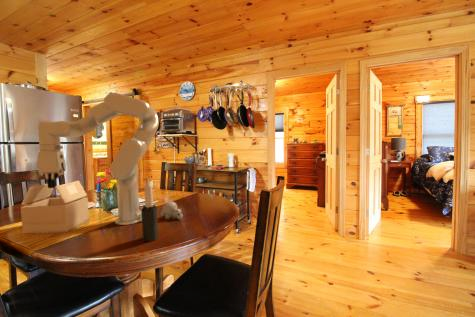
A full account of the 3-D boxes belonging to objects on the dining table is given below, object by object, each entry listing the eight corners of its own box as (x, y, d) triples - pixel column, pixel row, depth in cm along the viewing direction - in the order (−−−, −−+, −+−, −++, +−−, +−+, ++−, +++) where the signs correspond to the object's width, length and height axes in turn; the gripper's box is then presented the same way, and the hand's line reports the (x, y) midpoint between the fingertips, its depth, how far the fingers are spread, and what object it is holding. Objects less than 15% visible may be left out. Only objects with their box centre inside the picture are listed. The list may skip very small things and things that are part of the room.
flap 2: (54, 186, 101) (56, 186, 101) (77, 180, 116) (79, 180, 116) (64, 203, 101) (65, 203, 101) (86, 195, 117) (87, 195, 117)
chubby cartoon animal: (175, 226, 114) (179, 212, 112) (157, 215, 118) (161, 200, 116) (184, 222, 120) (188, 207, 118) (167, 211, 125) (171, 197, 123)
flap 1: (57, 182, 116) (56, 181, 116) (30, 188, 100) (29, 187, 100) (49, 196, 116) (48, 196, 116) (22, 205, 101) (20, 204, 100)
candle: (158, 235, 96) (156, 176, 95) (155, 241, 91) (152, 178, 90) (146, 236, 96) (143, 176, 94) (142, 241, 91) (138, 178, 89)
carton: (89, 219, 119) (88, 196, 118) (66, 232, 101) (64, 206, 101) (51, 221, 118) (49, 197, 117) (21, 234, 101) (19, 207, 100)
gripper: (72, 148, 111) (74, 185, 112) (40, 148, 110) (42, 186, 112) (61, 148, 104) (63, 189, 105) (26, 148, 103) (28, 189, 104)
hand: (52, 187), depth 108 cm, fingers closed
